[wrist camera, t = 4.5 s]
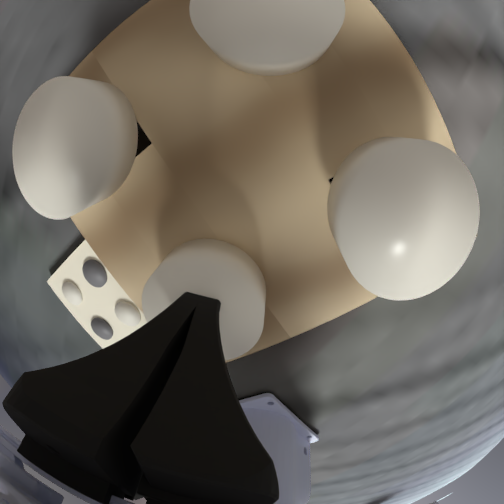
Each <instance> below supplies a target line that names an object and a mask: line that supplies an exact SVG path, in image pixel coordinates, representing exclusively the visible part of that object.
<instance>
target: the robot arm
mask: <svg viewBox="0 0 504 504" xmlns="http://www.w3.org/2000/svg"><path fill="white" fill-rule="evenodd" d="M220 307H221V302H220V301H219V300H218V299H214V298H210V297H206V296H202V295H198V294H194V293H190V292H185V293H183V294H182V295H181V296H180V297H179V298H178V299H177V300H175V301H174V302H173V303H172V304H171V305H170V306H168V307H167V308H166V309H165V310H163V311H162V312H161V313H160V314H158V315H157V316H156V317H154V318H153V319H152V320H150V321H149V322H148V323H146V324H145V325H143V326H142V327H140V328H139V329H137V330H136V331H134V332H133V333H131V334H129V335H128V336H126V337H125V338H123V339H121V340H119V341H117V342H116V343H114V344H112V345H110V346H108V347H106V348H104V349H101V350H99V351H97V352H95V353H93V354H90V355H88V356H86V357H83V358H80V359H77V360H74V361H71V362H68V363H65V364H62V365H58V366H54V367H50V368H45V369H41V370H36V371H30V372H24V373H23V375H22V376H21V377H20V378H19V379H18V381H17V382H16V383H15V385H14V386H13V388H12V389H11V391H10V392H9V393H8V395H7V396H6V398H5V399H4V401H3V407H4V409H5V411H6V412H7V413H8V415H9V416H10V417H11V418H12V419H13V421H14V422H15V423H16V424H17V425H18V426H19V427H20V429H21V430H22V431H23V432H24V433H25V434H26V435H25V437H24V439H23V440H22V442H21V441H19V440H18V439H17V438H16V437H14V436H13V435H12V434H11V433H9V432H8V431H7V430H6V429H5V428H4V427H2V426H1V425H0V504H61V503H62V501H63V499H64V497H63V496H62V495H61V494H59V493H57V492H56V491H54V490H53V489H51V488H50V487H48V486H47V485H45V484H44V483H42V482H41V481H39V480H38V479H36V478H34V477H33V476H32V475H30V474H29V473H28V472H26V471H25V469H24V467H23V463H22V462H24V463H25V464H26V465H28V466H29V467H30V468H32V469H33V470H34V471H36V472H38V473H39V474H40V475H42V476H43V477H45V478H46V479H48V480H49V481H51V482H52V483H54V484H56V485H57V486H59V487H61V488H62V489H64V490H66V491H67V492H69V493H71V494H73V495H74V496H77V497H78V498H80V499H82V500H84V501H86V502H88V503H90V504H134V503H131V502H128V501H126V500H124V497H125V498H127V499H130V500H134V499H135V500H137V499H140V498H143V497H144V498H145V499H146V500H147V502H146V504H307V502H308V500H309V498H310V494H311V466H310V443H313V442H316V441H318V440H319V436H318V435H317V434H315V433H314V432H313V431H312V430H311V429H310V428H309V427H307V426H306V425H305V424H304V423H303V422H302V421H301V420H300V419H299V418H297V417H296V416H295V415H294V414H293V413H292V412H291V411H290V410H289V409H288V408H287V407H286V406H284V405H283V404H282V403H281V402H280V401H279V400H278V399H277V398H276V397H275V396H274V395H273V394H271V393H264V394H260V395H257V396H253V397H250V398H246V399H243V400H238V398H237V396H236V393H235V390H234V388H233V385H232V382H231V379H230V376H229V373H228V370H227V366H226V362H225V358H224V353H223V349H222V343H221V336H220V326H219V312H220ZM430 504H438V502H437V501H436V502H433V503H430Z"/></svg>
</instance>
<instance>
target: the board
mask: <svg viewBox="0 0 504 504" xmlns="http://www.w3.org/2000/svg"><path fill="white" fill-rule="evenodd" d="M344 2H345V18H344V21H343V24H342V26H341V28H340V30H339V32H338V34H337V35H336V37H335V38H334V40H333V41H332V43H331V45H330V46H329V48H328V49H327V51H326V52H325V53H324V55H323V56H322V57H321V58H320V59H319V60H317V61H316V62H315V63H314V64H312V65H310V66H309V67H307V68H305V69H303V70H300V71H298V72H294V73H291V74H286V75H279V76H261V75H254V74H250V73H246V72H243V71H240V70H238V69H235V68H233V67H231V66H230V65H228V64H226V63H225V62H224V61H222V60H221V59H220V58H219V57H218V56H217V55H216V54H215V53H214V52H213V51H212V49H211V48H210V47H209V46H208V45H207V44H206V42H205V41H204V40H203V39H202V38H201V37H200V35H199V34H198V33H197V31H196V30H195V28H194V26H193V24H192V21H191V18H190V11H189V5H190V0H150V1H149V2H148V3H146V4H145V5H144V6H142V7H141V8H140V9H138V10H137V11H136V12H135V13H133V14H132V15H131V16H130V17H128V18H127V19H126V20H125V21H124V22H122V23H121V24H120V25H119V26H118V27H117V28H115V29H114V30H113V31H112V32H111V33H110V34H109V35H108V36H107V37H106V38H105V39H103V40H102V41H101V42H100V43H99V44H98V45H97V46H96V47H95V48H94V49H93V50H92V51H91V52H90V53H89V54H88V55H87V56H86V58H85V59H84V60H83V61H82V62H81V63H80V64H79V65H78V66H77V67H76V68H75V70H74V71H73V72H72V73H71V74H70V75H69V76H70V77H77V78H84V79H90V80H96V81H102V82H107V83H109V84H112V85H114V86H115V87H117V88H118V89H120V90H121V91H122V92H123V93H124V94H125V96H126V97H127V98H128V100H129V102H130V103H131V105H132V108H133V110H134V113H135V117H136V120H137V122H138V123H139V125H140V126H141V128H142V129H143V131H144V132H145V134H146V135H147V137H148V138H149V140H150V141H151V143H152V144H151V145H149V146H148V147H147V148H146V149H145V150H144V151H142V152H141V153H140V154H139V155H138V156H137V157H136V158H135V159H134V163H133V166H132V168H131V171H130V173H129V175H128V176H127V178H126V180H125V181H124V183H123V184H122V186H121V187H120V188H119V189H118V190H117V191H116V192H115V193H114V194H112V195H111V196H110V197H108V198H106V199H104V200H102V201H100V202H98V203H96V204H94V205H92V206H90V207H88V208H86V209H85V210H83V211H81V212H79V213H77V214H75V215H73V216H71V219H72V220H73V222H74V223H75V225H76V226H77V228H78V229H79V231H80V232H81V234H82V235H83V237H84V238H85V240H86V241H87V242H88V244H89V245H90V247H91V248H92V249H93V251H94V252H95V254H96V255H97V256H98V258H99V259H100V260H101V262H102V263H103V264H104V266H105V267H106V268H107V270H108V271H109V272H110V274H111V275H112V276H113V277H114V279H115V280H116V281H117V282H118V284H119V285H120V286H121V287H122V289H123V290H124V291H125V292H126V294H127V295H128V296H129V297H130V298H131V300H132V301H133V302H134V303H135V304H136V305H137V307H138V308H139V309H140V310H141V311H142V312H143V309H142V293H143V289H144V286H145V284H146V282H147V281H148V279H149V278H150V276H151V275H152V274H153V273H154V271H155V270H156V269H157V268H158V266H159V265H160V264H161V263H162V261H163V260H164V259H165V258H166V256H167V255H168V254H169V253H170V252H171V251H172V250H173V249H174V248H176V247H177V246H179V245H180V244H182V243H185V242H187V241H190V240H195V239H203V238H206V239H216V240H221V241H224V242H227V243H230V244H232V245H234V246H236V247H238V248H240V249H241V250H243V251H244V252H245V253H247V254H248V255H249V256H250V257H251V258H252V259H253V260H254V262H255V263H256V264H257V265H258V267H259V269H260V270H261V272H262V275H263V277H264V280H265V284H266V302H265V314H264V326H263V331H262V334H261V336H260V338H259V340H258V342H257V343H256V344H255V345H254V346H253V348H251V349H250V350H249V351H248V352H246V353H245V354H243V355H241V356H239V357H236V358H233V359H230V360H225V362H226V363H227V362H230V361H233V360H236V359H238V358H241V357H244V356H247V355H249V354H252V353H255V352H257V351H260V350H262V349H265V348H267V347H270V346H272V345H275V344H277V343H280V342H282V341H285V340H287V339H289V338H292V337H294V336H297V335H299V334H301V333H303V332H306V331H308V330H310V329H313V328H315V327H317V326H319V325H321V324H324V323H326V322H328V321H330V320H332V319H334V318H336V317H338V316H341V315H343V314H345V313H347V312H349V311H351V310H353V309H355V308H357V307H359V306H361V305H363V304H365V303H367V302H369V301H370V300H372V299H374V298H376V297H378V296H377V295H375V294H373V293H371V292H369V291H368V290H366V289H365V288H364V287H363V286H362V285H361V284H359V283H358V281H357V280H356V279H355V278H354V276H353V275H352V273H351V272H350V270H349V268H348V266H347V264H346V262H345V260H344V258H343V256H342V254H341V252H340V250H339V248H338V246H337V244H336V242H335V239H334V237H333V235H332V233H331V229H330V226H329V222H328V215H327V202H328V194H329V189H330V186H331V184H330V182H329V179H331V178H332V177H334V175H335V173H336V171H337V169H338V168H339V166H340V165H341V163H342V162H343V161H344V160H345V158H346V157H347V156H348V155H349V154H350V153H351V152H353V151H354V150H355V149H356V148H357V147H359V146H361V145H362V144H364V143H366V142H368V141H371V140H373V139H377V138H381V137H403V138H413V139H422V140H429V141H433V142H436V143H439V144H441V145H443V146H445V147H447V148H448V149H450V150H451V151H453V152H454V153H455V154H456V152H455V149H454V146H453V143H452V141H451V138H450V135H449V133H448V130H447V128H446V125H445V123H444V121H443V118H442V116H441V114H440V112H439V109H438V107H437V105H436V103H435V101H434V99H433V97H432V95H431V93H430V91H429V89H428V87H427V85H426V83H425V81H424V79H423V77H422V76H421V74H420V72H419V70H418V68H417V67H416V65H415V63H414V62H413V60H412V58H411V57H410V55H409V53H408V52H407V50H406V49H405V47H404V46H403V44H402V43H401V41H400V40H399V38H398V37H397V35H396V34H395V32H394V31H393V30H392V28H391V27H390V25H389V24H388V23H387V21H386V20H385V19H384V17H383V16H382V15H381V14H380V12H379V11H378V10H377V8H376V7H375V6H374V5H373V4H372V2H371V1H370V0H344ZM456 155H457V154H456ZM476 236H477V234H476ZM143 314H144V313H143Z"/></svg>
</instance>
